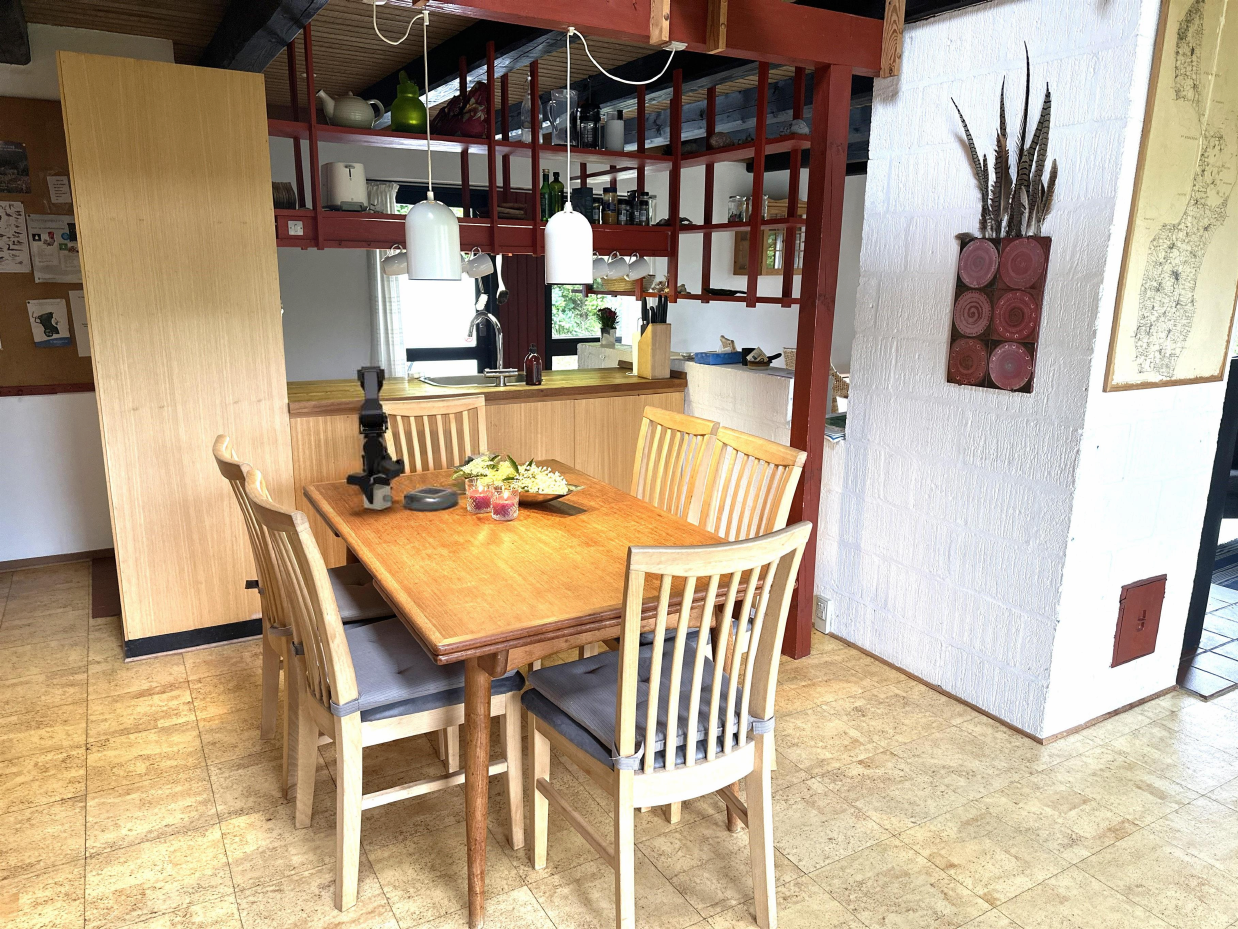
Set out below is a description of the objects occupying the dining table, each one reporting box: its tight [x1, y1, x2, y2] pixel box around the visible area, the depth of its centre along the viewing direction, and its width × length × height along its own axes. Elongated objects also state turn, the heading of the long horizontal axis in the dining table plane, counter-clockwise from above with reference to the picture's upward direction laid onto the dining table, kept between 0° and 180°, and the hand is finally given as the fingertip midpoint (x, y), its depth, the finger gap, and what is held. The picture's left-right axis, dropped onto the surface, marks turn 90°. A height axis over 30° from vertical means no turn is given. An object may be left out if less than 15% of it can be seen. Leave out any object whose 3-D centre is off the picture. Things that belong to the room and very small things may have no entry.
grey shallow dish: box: [403, 486, 459, 512], centre depth 256 cm, size 16×16×4 cm
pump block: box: [362, 484, 394, 511], centre depth 251 cm, size 8×5×6 cm, turn 64°
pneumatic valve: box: [463, 452, 498, 467], centre depth 272 cm, size 6×12×12 cm, turn 117°
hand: (377, 502), depth 252 cm, fingers closed on pump block, 5 cm apart
